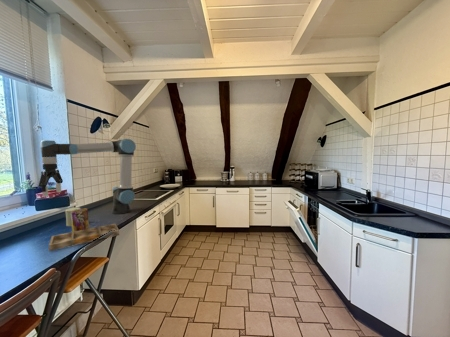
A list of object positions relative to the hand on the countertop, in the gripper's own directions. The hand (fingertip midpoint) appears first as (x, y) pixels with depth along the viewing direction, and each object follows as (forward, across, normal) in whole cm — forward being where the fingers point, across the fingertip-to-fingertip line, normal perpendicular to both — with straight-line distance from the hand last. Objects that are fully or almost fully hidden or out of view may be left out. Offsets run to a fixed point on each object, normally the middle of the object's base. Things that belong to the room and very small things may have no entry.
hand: (52, 194), depth 136 cm
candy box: (+25, +8, +20) cm, 33 cm away
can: (+25, -10, +7) cm, 28 cm away
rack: (+25, +20, +29) cm, 43 cm away
